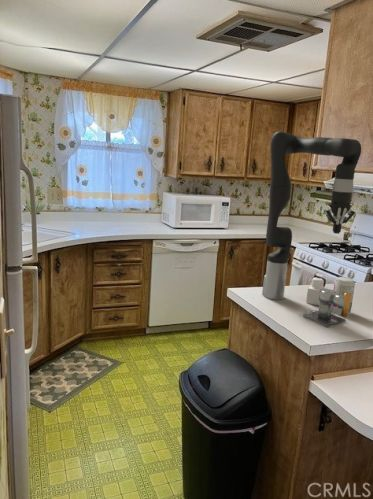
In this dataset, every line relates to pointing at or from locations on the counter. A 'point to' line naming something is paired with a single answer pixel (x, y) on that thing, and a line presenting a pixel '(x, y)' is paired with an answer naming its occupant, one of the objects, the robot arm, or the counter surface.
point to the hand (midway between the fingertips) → (336, 233)
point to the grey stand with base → (324, 316)
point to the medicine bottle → (315, 290)
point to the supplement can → (343, 291)
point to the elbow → (336, 300)
